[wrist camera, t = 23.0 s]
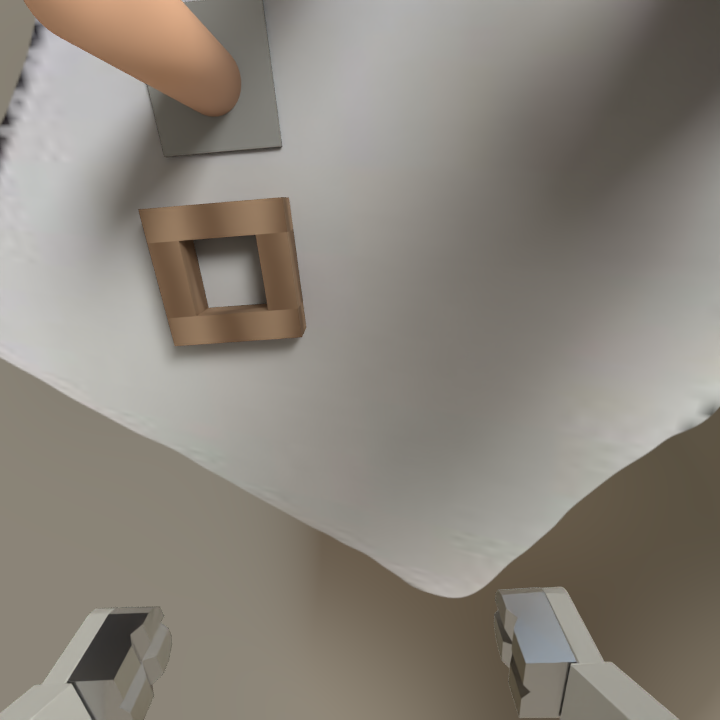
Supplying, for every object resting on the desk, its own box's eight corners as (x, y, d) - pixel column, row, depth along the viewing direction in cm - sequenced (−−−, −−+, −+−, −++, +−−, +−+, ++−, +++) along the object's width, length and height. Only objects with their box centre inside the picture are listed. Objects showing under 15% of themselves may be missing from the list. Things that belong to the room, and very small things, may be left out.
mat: (262, -4, 30) (260, -6, 29) (282, 146, 33) (281, 146, 33) (132, 10, 30) (129, 7, 30) (166, 156, 34) (164, 156, 33)
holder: (289, 197, 35) (282, 197, 32) (306, 327, 39) (301, 337, 37) (155, 208, 35) (138, 209, 33) (188, 335, 40) (174, 346, 37)
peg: (234, 38, 30) (110, -118, 15) (246, 113, 32) (146, 38, 17) (170, 44, 31) (-12, -104, 16) (186, 119, 32) (36, 50, 18)
